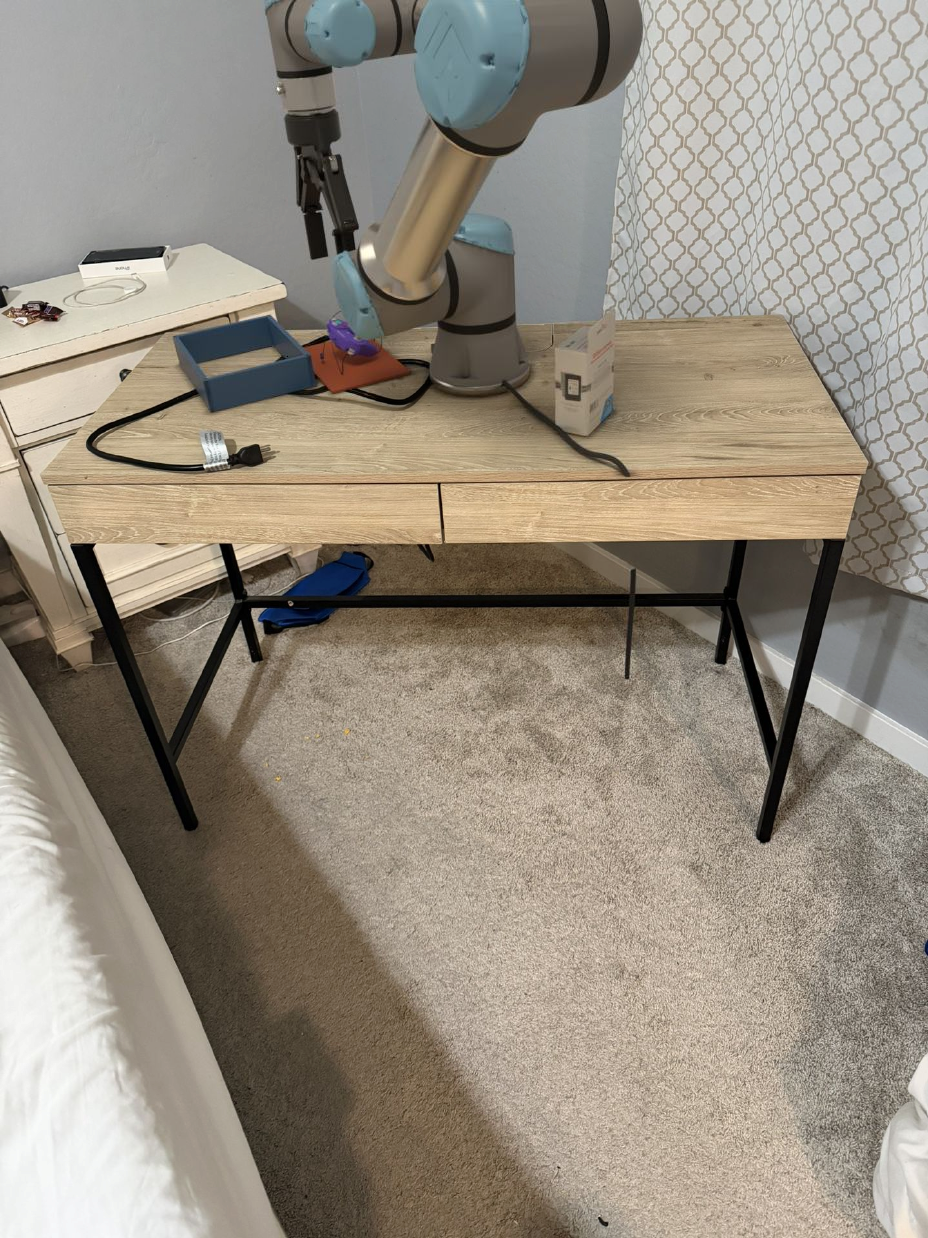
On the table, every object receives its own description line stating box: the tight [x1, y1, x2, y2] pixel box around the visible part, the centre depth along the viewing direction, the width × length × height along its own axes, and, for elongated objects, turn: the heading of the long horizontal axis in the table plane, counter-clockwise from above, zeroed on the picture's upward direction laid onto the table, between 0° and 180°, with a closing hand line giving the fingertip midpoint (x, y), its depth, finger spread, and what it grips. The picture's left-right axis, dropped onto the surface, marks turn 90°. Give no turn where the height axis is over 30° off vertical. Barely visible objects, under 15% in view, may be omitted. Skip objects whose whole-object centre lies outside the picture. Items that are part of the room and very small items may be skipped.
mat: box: [303, 339, 412, 395], centre depth 148 cm, size 20×13×1 cm, turn 26°
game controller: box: [320, 310, 383, 375], centre depth 147 cm, size 10×8×10 cm
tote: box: [171, 314, 317, 413], centre depth 146 cm, size 22×17×5 cm
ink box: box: [554, 308, 617, 437], centre depth 122 cm, size 9×5×15 cm, turn 148°
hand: (334, 268), depth 139 cm, fingers open, 13 cm apart
